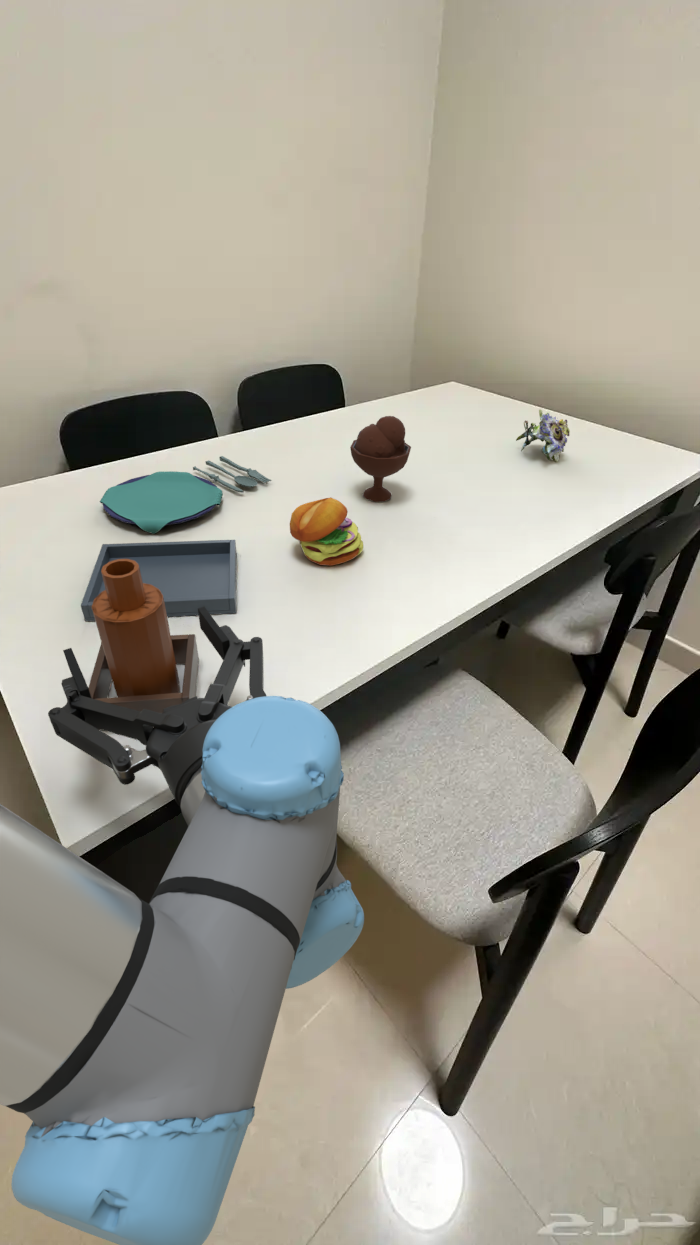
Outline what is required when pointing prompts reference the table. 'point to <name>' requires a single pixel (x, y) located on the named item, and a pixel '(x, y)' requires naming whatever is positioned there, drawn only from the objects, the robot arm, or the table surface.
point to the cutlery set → (171, 496)
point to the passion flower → (547, 435)
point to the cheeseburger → (326, 532)
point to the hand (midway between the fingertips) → (139, 637)
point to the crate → (183, 654)
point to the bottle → (135, 632)
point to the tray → (176, 574)
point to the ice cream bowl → (381, 454)
